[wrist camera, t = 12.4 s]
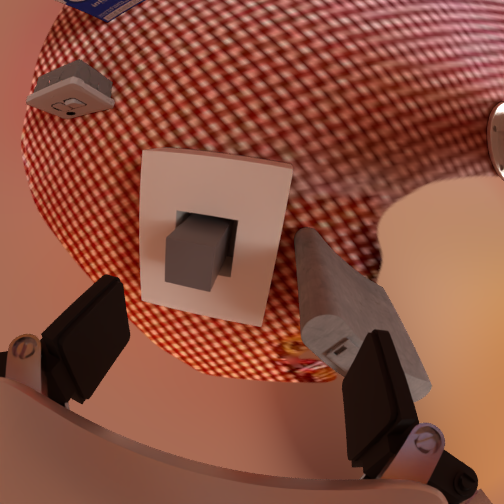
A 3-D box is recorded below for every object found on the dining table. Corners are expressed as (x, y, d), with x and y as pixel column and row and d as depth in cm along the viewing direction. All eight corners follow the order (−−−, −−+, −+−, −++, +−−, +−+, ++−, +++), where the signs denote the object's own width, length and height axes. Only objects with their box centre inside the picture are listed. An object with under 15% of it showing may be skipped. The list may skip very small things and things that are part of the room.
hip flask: (389, 293, 35) (444, 407, 17) (368, 312, 37) (409, 430, 18) (305, 222, 33) (329, 331, 14) (284, 246, 34) (281, 370, 16)
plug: (235, 214, 32) (215, 247, 23) (229, 249, 34) (210, 292, 25) (198, 208, 32) (165, 237, 23) (195, 242, 34) (164, 281, 25)
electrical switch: (67, 119, 30) (22, 116, 21) (70, 87, 28) (27, 78, 19) (117, 107, 29) (72, 97, 20) (120, 72, 27) (78, 54, 19)
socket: (291, 163, 30) (293, 169, 25) (264, 299, 37) (261, 326, 32) (165, 147, 31) (142, 150, 25) (159, 278, 38) (141, 300, 32)
